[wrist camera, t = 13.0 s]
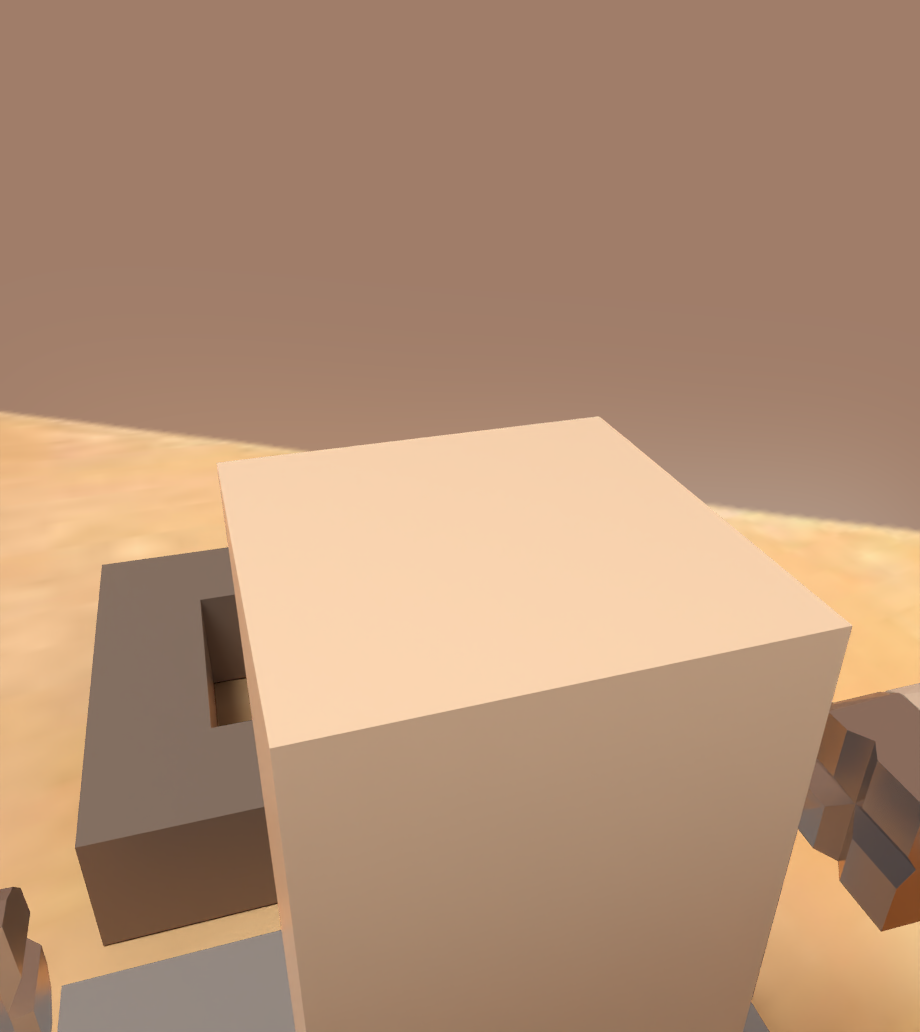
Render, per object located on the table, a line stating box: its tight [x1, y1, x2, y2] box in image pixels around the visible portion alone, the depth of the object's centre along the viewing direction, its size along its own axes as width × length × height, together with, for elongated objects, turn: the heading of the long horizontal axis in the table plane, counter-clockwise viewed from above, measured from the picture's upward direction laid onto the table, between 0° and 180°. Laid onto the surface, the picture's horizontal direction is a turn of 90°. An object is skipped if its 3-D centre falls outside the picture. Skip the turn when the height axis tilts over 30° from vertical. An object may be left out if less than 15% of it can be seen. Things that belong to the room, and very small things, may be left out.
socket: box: [75, 548, 278, 946], centre depth 24 cm, size 11×11×3 cm
